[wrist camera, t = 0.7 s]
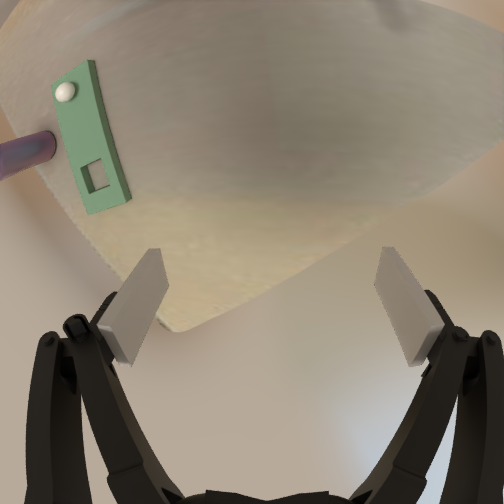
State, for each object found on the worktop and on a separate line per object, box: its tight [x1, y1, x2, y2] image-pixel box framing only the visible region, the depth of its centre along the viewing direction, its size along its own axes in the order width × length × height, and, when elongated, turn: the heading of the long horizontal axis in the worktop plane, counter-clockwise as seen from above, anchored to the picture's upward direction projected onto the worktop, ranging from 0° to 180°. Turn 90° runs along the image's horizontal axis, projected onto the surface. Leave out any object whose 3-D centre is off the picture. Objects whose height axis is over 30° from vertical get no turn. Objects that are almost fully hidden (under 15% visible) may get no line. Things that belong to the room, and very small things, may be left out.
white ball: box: [55, 82, 75, 102], centre depth 29 cm, size 4×4×4 cm
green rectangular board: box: [51, 60, 131, 215], centre depth 35 cm, size 26×9×2 cm, turn 13°
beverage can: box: [0, 131, 55, 181], centre depth 30 cm, size 6×6×15 cm
